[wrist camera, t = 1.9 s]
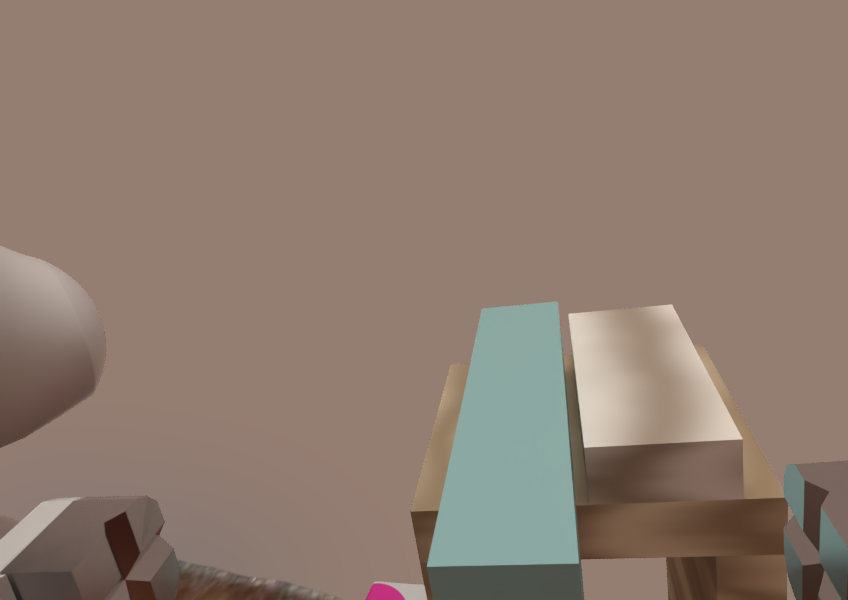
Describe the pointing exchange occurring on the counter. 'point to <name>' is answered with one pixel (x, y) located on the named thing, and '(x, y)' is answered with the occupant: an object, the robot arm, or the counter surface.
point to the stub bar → (510, 469)
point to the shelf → (648, 530)
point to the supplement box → (396, 591)
